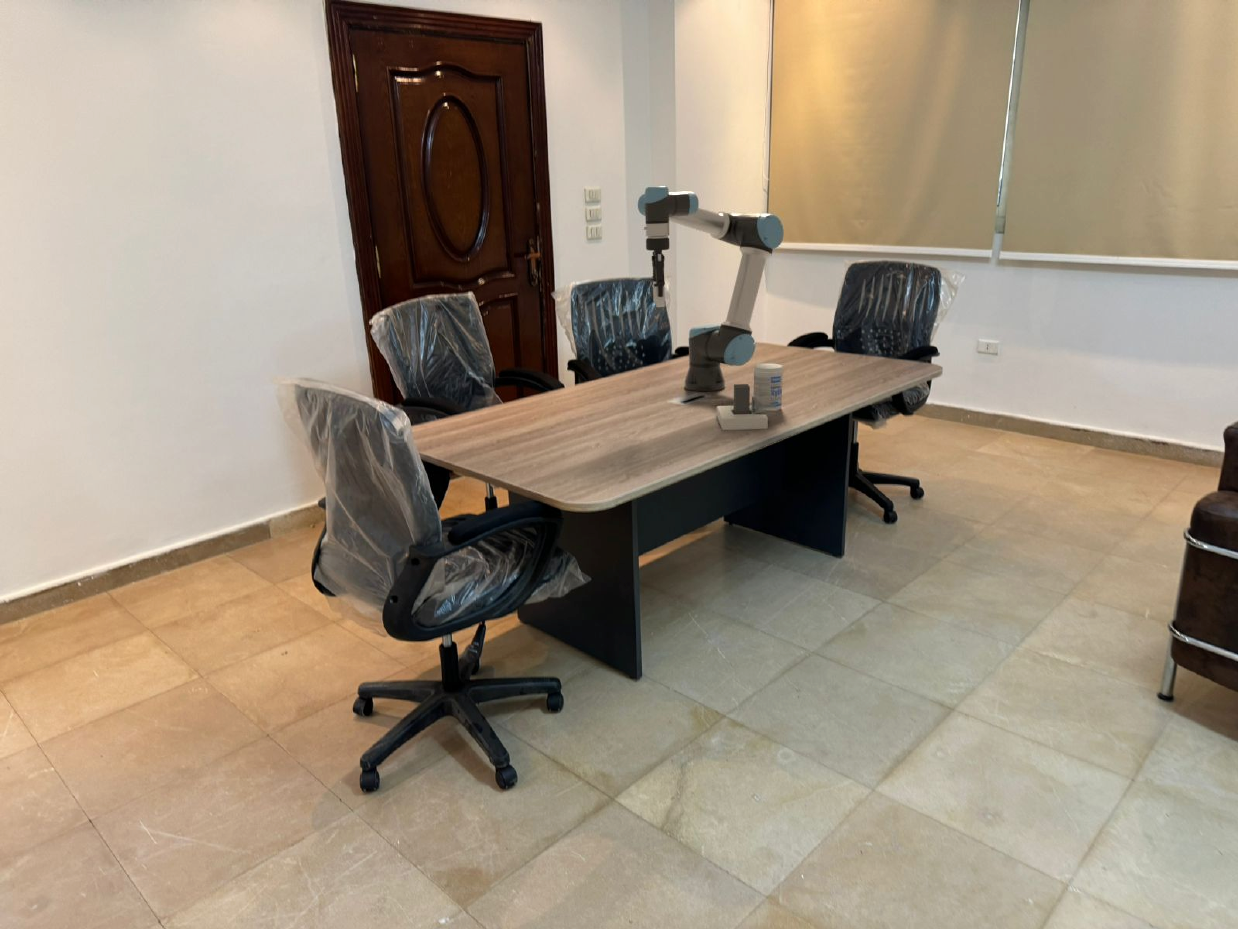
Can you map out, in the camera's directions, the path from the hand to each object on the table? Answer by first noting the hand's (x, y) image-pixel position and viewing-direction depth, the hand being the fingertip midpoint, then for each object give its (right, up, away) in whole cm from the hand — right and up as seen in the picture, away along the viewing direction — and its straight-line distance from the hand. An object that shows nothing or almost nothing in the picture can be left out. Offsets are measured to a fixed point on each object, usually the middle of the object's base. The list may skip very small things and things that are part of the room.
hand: (658, 304), depth 267 cm
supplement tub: (+37, -34, +8) cm, 51 cm away
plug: (+26, -39, -7) cm, 48 cm away
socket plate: (+26, -39, -7) cm, 48 cm away
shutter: (+33, -35, -8) cm, 49 cm away
